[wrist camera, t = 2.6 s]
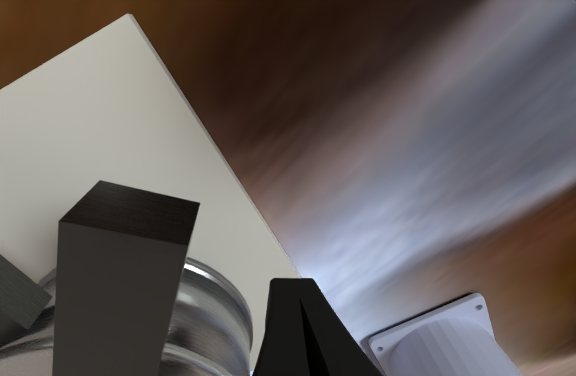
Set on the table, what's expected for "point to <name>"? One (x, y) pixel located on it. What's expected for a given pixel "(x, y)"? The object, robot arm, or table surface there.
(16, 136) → the plate
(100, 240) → the lid
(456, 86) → the table surface
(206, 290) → the pot
